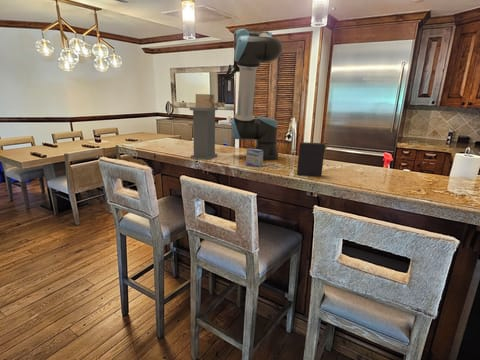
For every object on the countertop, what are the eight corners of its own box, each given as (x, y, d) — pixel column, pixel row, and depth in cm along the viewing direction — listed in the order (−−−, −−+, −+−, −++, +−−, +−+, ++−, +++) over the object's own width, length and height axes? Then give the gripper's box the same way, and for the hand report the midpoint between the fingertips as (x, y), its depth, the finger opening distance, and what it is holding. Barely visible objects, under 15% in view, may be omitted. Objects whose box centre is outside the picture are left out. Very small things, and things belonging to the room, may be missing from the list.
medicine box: (245, 165, 148) (246, 149, 146) (249, 163, 152) (250, 147, 150) (259, 167, 145) (260, 150, 143) (262, 165, 149) (263, 149, 146)
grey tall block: (202, 153, 175) (202, 106, 168) (218, 155, 171) (219, 107, 164) (189, 158, 161) (188, 107, 153) (206, 160, 157) (206, 108, 149)
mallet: (217, 106, 182) (217, 95, 180) (228, 107, 179) (228, 95, 177) (195, 107, 158) (195, 94, 156) (208, 107, 155) (208, 94, 153)
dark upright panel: (320, 174, 135) (323, 142, 131) (321, 176, 131) (325, 144, 127) (296, 173, 136) (299, 141, 132) (297, 175, 132) (300, 143, 128)
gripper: (259, 57, 185) (258, 91, 190) (224, 58, 194) (224, 90, 199) (255, 55, 178) (254, 90, 184) (219, 56, 187) (219, 90, 192)
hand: (238, 90), depth 191 cm, fingers open, 13 cm apart
